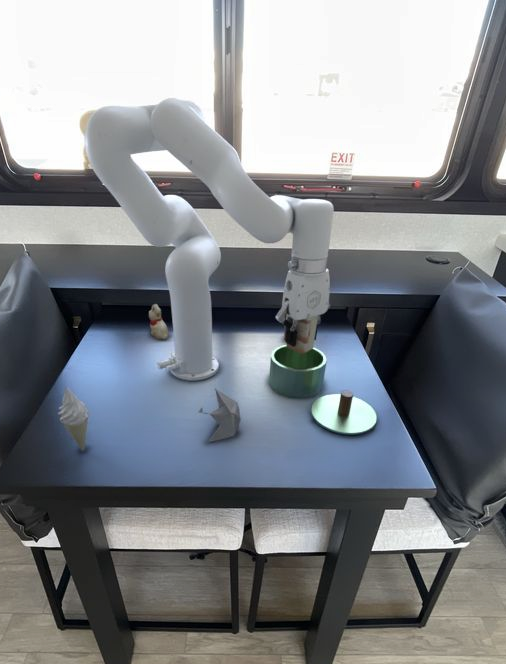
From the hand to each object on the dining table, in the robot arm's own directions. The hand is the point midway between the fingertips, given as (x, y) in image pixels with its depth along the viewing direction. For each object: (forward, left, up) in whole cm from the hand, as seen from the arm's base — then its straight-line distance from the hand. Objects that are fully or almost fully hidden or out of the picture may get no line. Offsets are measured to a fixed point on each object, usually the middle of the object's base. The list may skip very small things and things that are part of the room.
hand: (300, 340), depth 97 cm
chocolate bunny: (-19, +42, -12) cm, 48 cm away
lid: (0, -16, -11) cm, 20 cm away
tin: (0, 0, -12) cm, 12 cm away
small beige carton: (0, 0, -2) cm, 2 cm away
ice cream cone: (-52, +2, -12) cm, 53 cm away
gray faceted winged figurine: (-25, -5, -12) cm, 28 cm away
